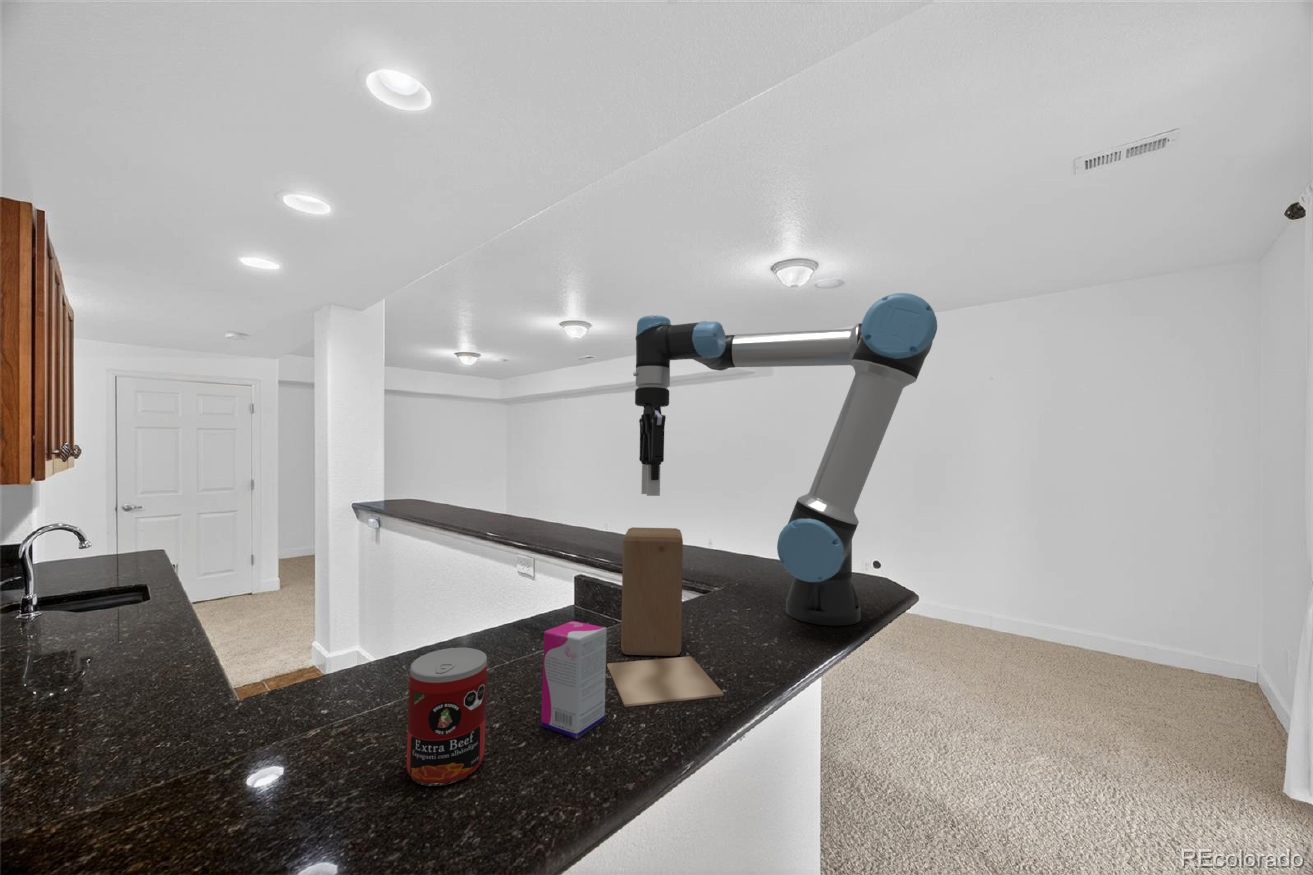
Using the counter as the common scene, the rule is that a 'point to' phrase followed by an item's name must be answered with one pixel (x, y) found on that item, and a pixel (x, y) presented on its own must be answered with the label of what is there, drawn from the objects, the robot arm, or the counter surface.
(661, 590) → the wooden block
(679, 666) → the cork mat
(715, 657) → the counter surface
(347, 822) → the counter surface
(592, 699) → the supplement box
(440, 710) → the canned food
